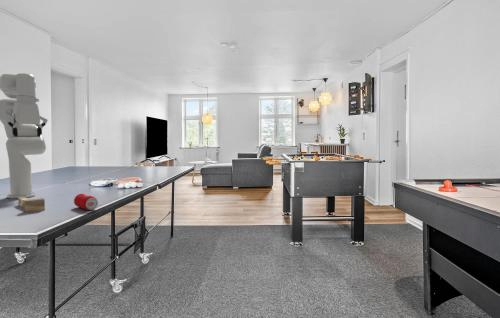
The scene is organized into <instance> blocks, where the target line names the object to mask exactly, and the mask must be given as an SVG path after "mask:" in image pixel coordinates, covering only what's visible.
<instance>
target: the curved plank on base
mask: <svg viewBox="0 0 500 318" xmlns="http://www.w3.org/2000/svg"><path fill="white" fill-rule="evenodd" d="M17 199H18V203H17V204H18V206H20V207H21V208H22V209H23V211H24V213H26V214H28V213H29V214H30V213H34V212H36V213H37V212H41V211H42V212H43V211H45V210H46V208H45V206H46V205H45V198H43V197H41V198H33V199H30V198H29V197H26V198H25V197H22V198H17Z"/></svg>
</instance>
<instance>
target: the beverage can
mask: <svg viewBox="0 0 500 318" xmlns="http://www.w3.org/2000/svg"><path fill="white" fill-rule="evenodd" d="M98 202H99V201H98V200H97V198H96V197H95V196H92V195H89V194H85V193H78V194H77V195H76V196H75V197H74V199H73V203H74V205H75V206H76V207H78V208H81V209H84V210H86V211H93V210H95V209H96V208H97V207H98V205H99V204H98Z"/></svg>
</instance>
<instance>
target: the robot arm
mask: <svg viewBox="0 0 500 318" xmlns="http://www.w3.org/2000/svg"><path fill="white" fill-rule="evenodd" d="M36 83H37V82H36V78H35V76H34V75H33V74H30V73H25V72H24V73H23V72H22V73H20V72H19V73H17V74H11V73H4V74H1V75H0V91H1V92H3V94H4V95H5V97H7V98H4V99H3V98H2V99H0V122H1V124H2V125H3V128H4V130H5V131H4V132H5V135H6V137H7V140H6V141H5V148H6V152H7V157H8V172H9V188H10V189H9V190H10V191H9V194H7V195H6V198H8V199H18V198H22V197H25V198H31V197H35V196H36V192H33V185H32V182H33V181H32V163H31V162H30V160H29V159H28V158H27V157H26V156H35V155H37V156H38V155H42V154H44V153H45V152H46V149H47V148H46V147H47V145H46V142H45V139H44V136H43V127H45V126H46V124H47V122H48V118H45V117H43V116H41V114H40V110H39V106H38V102H40V99H39V98H37V97H36V95H37V94H36V93H37V92H36V88H37V84H36ZM41 121H42V123H40V122H41Z"/></svg>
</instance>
